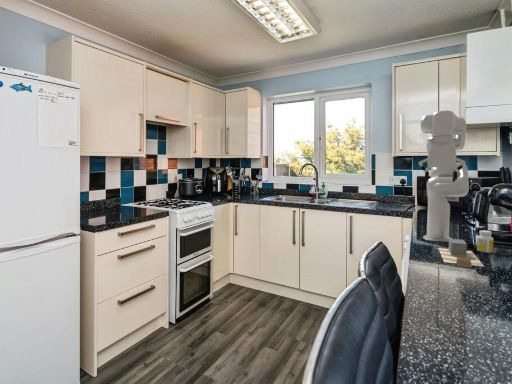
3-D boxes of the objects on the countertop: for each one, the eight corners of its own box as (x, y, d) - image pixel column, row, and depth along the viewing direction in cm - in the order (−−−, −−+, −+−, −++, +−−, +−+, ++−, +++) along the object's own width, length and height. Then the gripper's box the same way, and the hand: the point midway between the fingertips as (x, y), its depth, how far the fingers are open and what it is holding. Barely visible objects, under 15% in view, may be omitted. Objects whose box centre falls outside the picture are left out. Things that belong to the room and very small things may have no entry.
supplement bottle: (489, 253, 128) (490, 230, 127) (495, 256, 123) (496, 232, 122) (474, 252, 129) (475, 229, 129) (479, 255, 124) (480, 232, 124)
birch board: (437, 251, 131) (438, 247, 131) (471, 254, 125) (471, 251, 125) (443, 265, 111) (444, 261, 111) (484, 270, 106) (484, 266, 106)
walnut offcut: (456, 261, 110) (457, 257, 109) (469, 263, 108) (470, 259, 107) (457, 269, 107) (458, 265, 106) (471, 271, 105) (472, 267, 104)
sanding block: (448, 250, 127) (449, 238, 126) (462, 251, 124) (463, 239, 124) (451, 255, 119) (451, 242, 119) (466, 256, 117) (466, 244, 117)
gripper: (419, 141, 129) (417, 181, 130) (468, 139, 121) (466, 181, 122) (418, 142, 135) (417, 180, 137) (464, 140, 128) (463, 181, 129)
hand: (440, 181), depth 129 cm, fingers open, 9 cm apart
